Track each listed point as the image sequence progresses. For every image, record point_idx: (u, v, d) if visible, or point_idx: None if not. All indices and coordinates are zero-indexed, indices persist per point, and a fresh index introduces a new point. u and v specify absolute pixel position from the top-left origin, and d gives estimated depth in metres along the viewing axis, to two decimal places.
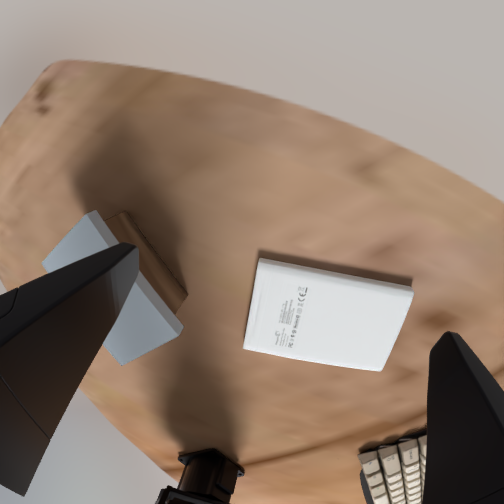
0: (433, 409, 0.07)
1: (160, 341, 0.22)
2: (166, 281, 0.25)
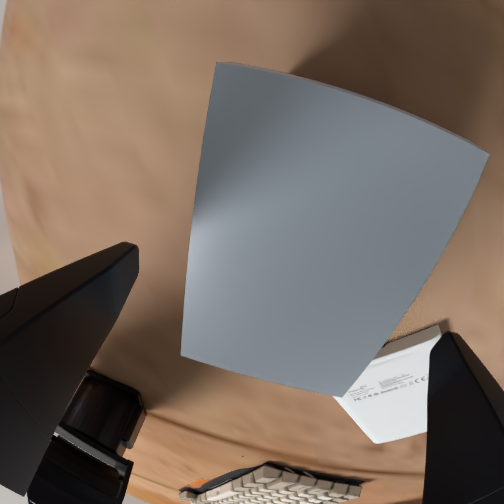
0: (433, 409, 0.07)
1: (305, 386, 0.12)
2: None
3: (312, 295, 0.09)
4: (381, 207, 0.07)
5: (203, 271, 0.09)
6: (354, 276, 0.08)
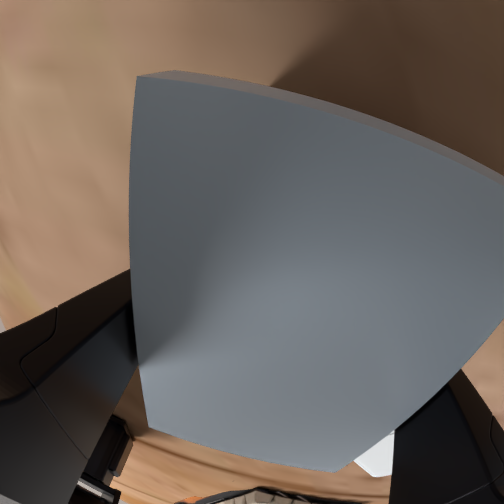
0: None
1: (293, 464, 0.09)
2: None
3: (299, 396, 0.06)
4: (404, 303, 0.05)
5: (157, 360, 0.07)
6: (356, 379, 0.06)
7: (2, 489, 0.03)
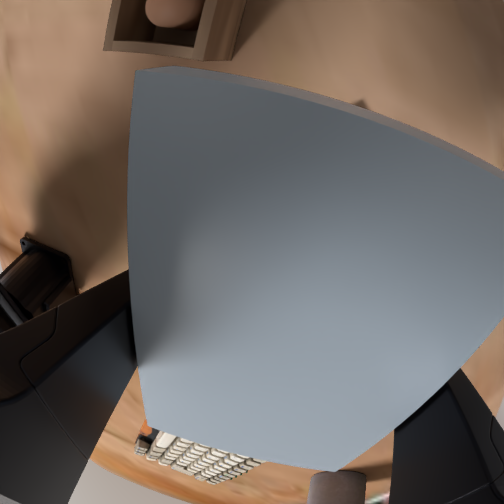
0: None
1: (292, 463, 0.09)
2: (233, 21, 0.13)
3: (298, 394, 0.06)
4: (404, 299, 0.05)
5: (155, 359, 0.07)
6: (356, 377, 0.06)
7: (2, 489, 0.03)
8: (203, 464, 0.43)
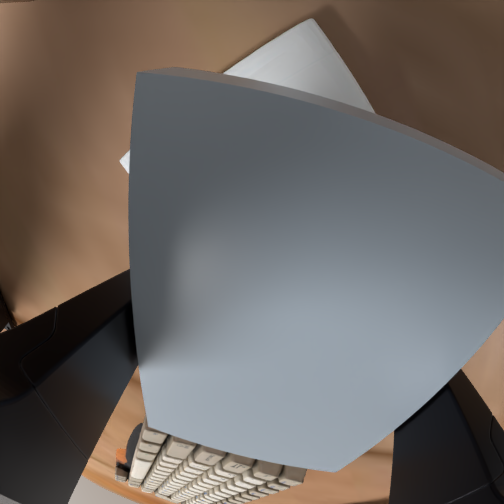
0: None
1: (293, 464, 0.09)
2: None
3: (299, 395, 0.06)
4: (406, 300, 0.05)
5: (156, 359, 0.07)
6: (357, 378, 0.06)
7: (2, 489, 0.03)
8: (184, 496, 0.36)
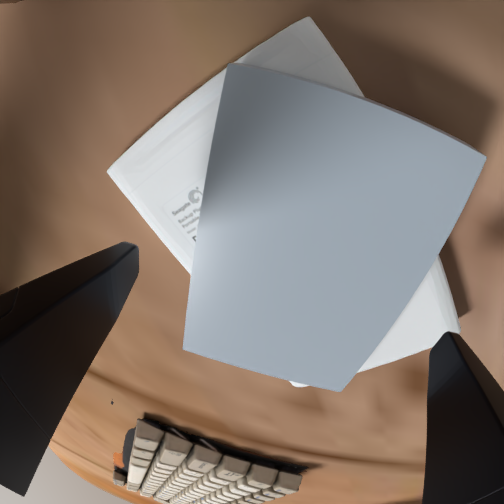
0: (433, 409, 0.07)
1: (305, 380, 0.12)
2: None
3: (314, 290, 0.09)
4: (382, 205, 0.08)
5: (208, 265, 0.10)
6: (355, 272, 0.09)
7: None
8: (182, 501, 0.35)
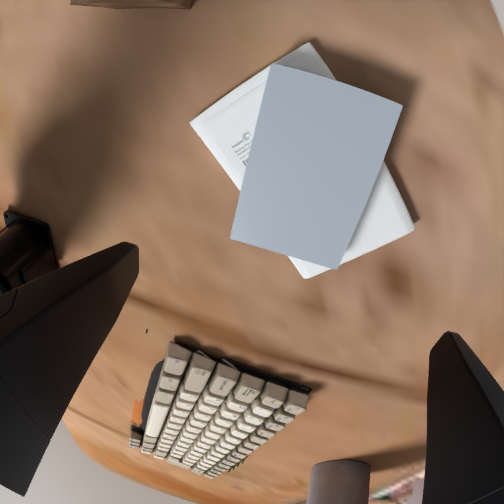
0: (433, 409, 0.07)
1: (312, 259, 0.19)
2: None
3: (315, 183, 0.16)
4: (348, 132, 0.15)
5: (254, 170, 0.17)
6: (337, 171, 0.16)
7: None
8: (196, 454, 0.42)
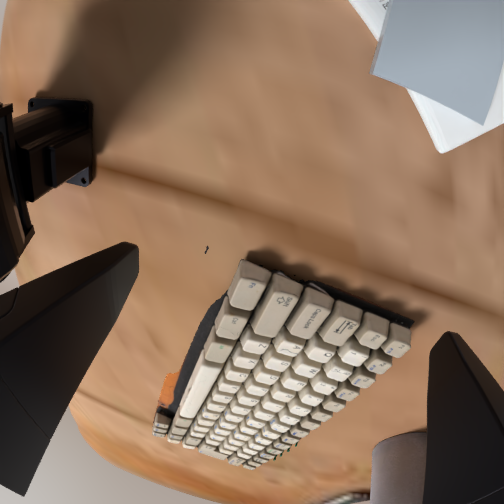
0: (433, 409, 0.07)
1: (460, 108, 0.13)
2: None
3: (461, 23, 0.10)
4: None
5: None
6: (479, 15, 0.09)
7: None
8: (241, 438, 0.35)
